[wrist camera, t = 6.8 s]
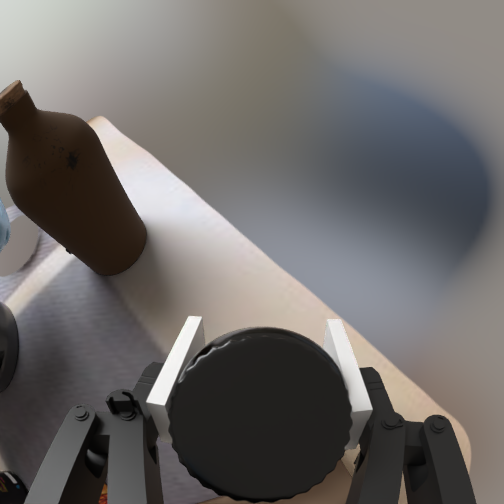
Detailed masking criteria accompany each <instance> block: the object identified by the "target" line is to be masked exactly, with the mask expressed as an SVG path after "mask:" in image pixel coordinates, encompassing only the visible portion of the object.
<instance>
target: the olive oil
mask: <svg viewBox="0 0 504 504" xmlns="http://www.w3.org/2000/svg"><path fill="white" fill-rule="evenodd" d="M0 123H1V124H2V126H3V127H4V128H5V130H6V131H7V132H8V135H9V142H8V151H7V161H6V184H7V188H8V191H9V193H10V195H11V197H12V199H13V201H14V203H15V205H16V206H17V207H18V208H19V209H20V210H21V211H22V212H23V213H24V214H25V215H26V216H27V217H28V218H30V219H31V220H32V221H33V222H34V223H35V224H37V225H38V226H39V227H40V228H41V229H43V230H44V231H45V232H46V233H47V234H49V235H50V236H51V237H52V238H54V239H55V240H56V241H57V242H58V243H60V244H61V245H62V246H63V247H65V248H66V251H67V252H68V253H69V254H74V255H75V256H76V257H77V258H78V259H80V260H81V261H82V262H83V263H85V264H86V265H87V266H88V267H90V268H91V269H92V270H94V271H95V272H97V273H99V274H102V275H115V274H118V273H120V272H123V271H124V270H126V269H127V268H129V267H130V266H131V265H132V264H133V263H134V262H135V261H136V260H137V259H138V257H139V256H140V254H141V253H142V251H143V248H144V246H145V242H146V229H145V226H144V224H143V222H142V220H141V218H140V217H139V215H138V213H137V212H136V210H135V208H134V206H133V205H132V203H131V201H130V200H129V198H128V196H127V194H126V192H125V190H124V188H123V187H122V185H121V183H120V181H119V179H118V177H117V175H116V173H115V171H114V169H113V167H112V165H111V163H110V161H109V159H108V157H107V155H106V153H105V151H104V148H103V146H102V144H101V142H100V140H99V138H98V136H97V134H96V133H95V131H94V130H93V129H92V128H91V127H90V126H89V125H88V124H87V123H86V122H85V121H84V120H82V119H81V118H79V117H77V116H74V115H71V114H66V113H58V112H50V111H42V110H39V109H37V108H36V107H35V105H34V103H33V101H32V99H31V97H30V95H29V93H28V91H27V90H25V91H24V89H23V87H22V83H21V81H20V80H17V81H15V82H13V83H12V84H10V85H9V86H8V87H7V88H5V89H4V90H3V91H2V92H1V93H0Z"/></svg>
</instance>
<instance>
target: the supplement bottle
mask: <svg viewBox="0 0 504 504" xmlns="http://www.w3.org/2000/svg"><path fill="white" fill-rule="evenodd" d="M170 400H171V408H170V410H169V412H168V419H169V421H170V425H169V428H168V432H169V434H170V436H171V438H172V447H173V449H174V450H175V451H176V452H177V453H178V458H179V462H180V463H181V464H182V465H184V466H185V467H186V468H187V470H188V472H189V474H190V476H192V477H194V478H196V479H198V480H199V482H200V483H201V484H202V486H203V487H206V488H208V489H212V490H213V491H214V492H215V493H216V494H218V495H219V496H227V497H229V498H231V499H233V500H235V501H247V502H250V503H253V504H255V503H260V502H267V503H274V502H277V501H279V500H281V499H282V500H286V499H291V498H293V497H295V496H296V495H297V494H302V493H306V492H308V491H309V490H310V489H311V488H312V487H313V486H314V485H317V484H320V483H322V482H323V480H324V479H325V477H326V475H327V474H329V473H331V472H332V471H333V470H335V467H336V464H337V462H338V461H339V460H340V459H341V458H342V457H343V456H344V452H345V446H346V445H347V444H348V442H349V441H350V432H349V431H350V429H351V427H352V425H353V421H352V418H351V416H350V414H351V411H352V405H351V403H350V402H349V390H348V386H347V383H346V380H345V378H344V376H343V373H342V371H341V370H340V368H339V366H338V365H337V363H336V362H335V361H334V359H333V358H332V357H331V356H330V355H329V354H328V353H327V352H326V351H325V350H324V349H323V348H322V347H321V346H319V345H318V344H316V343H315V342H314V341H312V340H310V339H309V338H307V337H305V336H303V335H301V334H298V333H296V332H293V331H290V330H286V329H282V328H276V327H249V328H244V329H239V330H235V331H232V332H229V333H227V334H224V335H222V336H220V337H218V338H216V339H215V340H213V341H211V342H210V343H208V344H207V345H206V346H204V347H203V348H202V349H201V350H200V351H198V352H197V353H196V354H195V355H194V357H193V358H192V359H191V360H190V361H189V363H188V364H187V365H186V367H185V368H184V370H183V372H182V374H181V376H180V378H179V380H178V382H177V385H176V389H175V393H174V394H173V396H172V397H171V398H170Z"/></svg>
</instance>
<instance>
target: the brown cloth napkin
mask: <svg viewBox="0 0 504 504" xmlns="http://www.w3.org/2000/svg"><path fill="white" fill-rule="evenodd" d="M351 482H352V477H351V476H350V474H349V472H348V471H347V469H346V468H345V466H344V464H343V463H342V461H341V460H339V461H338V462H337V464H336V467H335V470H333V471H332V472H331V473H329V474H327V475H326V477H325V479H324V480H323V482H322V483H320V484H317V485H314V486H313V487H312V488H311V489H310V490H309V491H308V492H306V493H302V494H297V495H296V496H295V497H293V498H291V499H286V500H282V499H281V500H279V501H277V502H274V503H267V502H260V503H255V504H345V503H346V500H347V497H348V493H349V489H350V486H351ZM197 504H253V503H250V502H247V501H235V500H233V499H231V498H229V497H227V496H220V497H217V498H214V499H211V500H207V501H204V502H200V503H197Z"/></svg>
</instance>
